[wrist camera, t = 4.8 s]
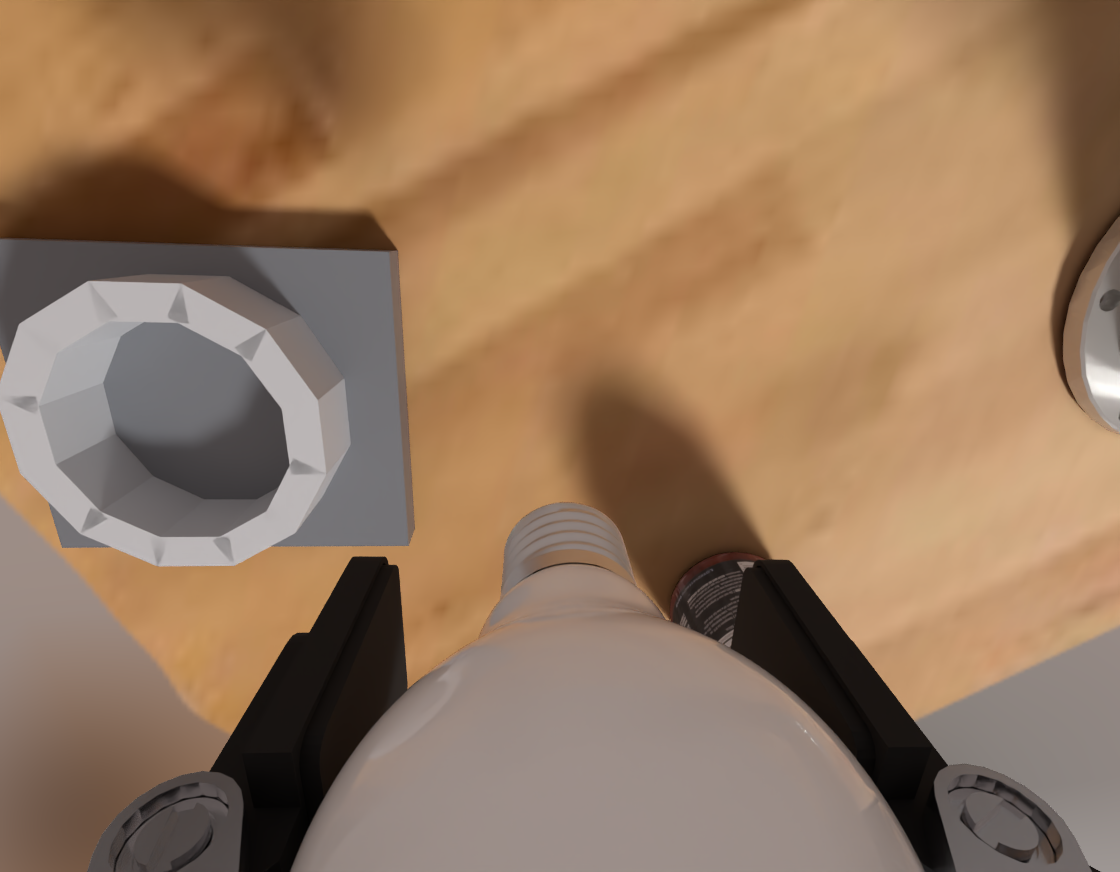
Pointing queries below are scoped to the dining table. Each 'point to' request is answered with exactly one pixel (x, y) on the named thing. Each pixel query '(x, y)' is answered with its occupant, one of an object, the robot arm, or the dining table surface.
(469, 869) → the lightbulb
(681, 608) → the supplement bottle
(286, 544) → the socket holder
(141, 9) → the dining table surface
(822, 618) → the robot arm
